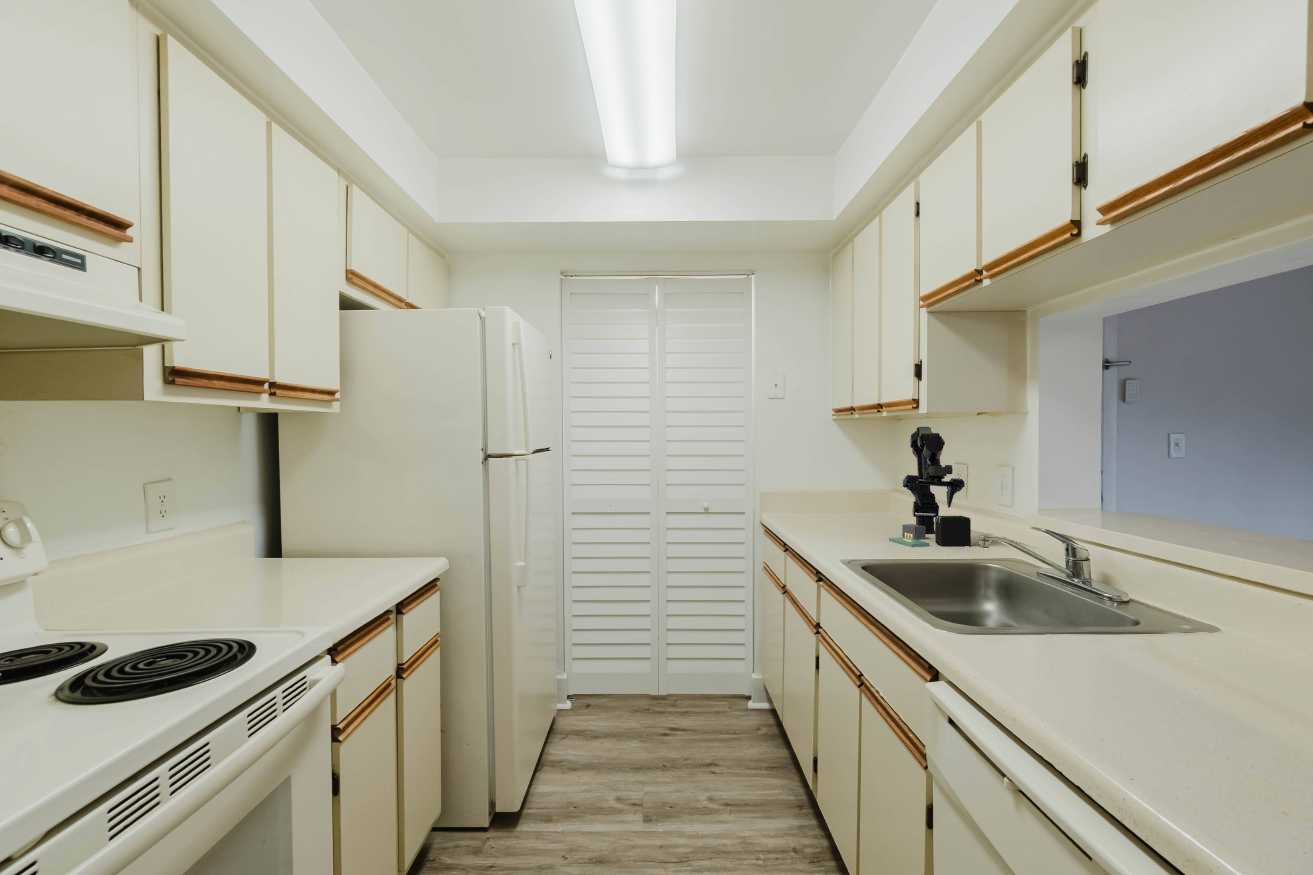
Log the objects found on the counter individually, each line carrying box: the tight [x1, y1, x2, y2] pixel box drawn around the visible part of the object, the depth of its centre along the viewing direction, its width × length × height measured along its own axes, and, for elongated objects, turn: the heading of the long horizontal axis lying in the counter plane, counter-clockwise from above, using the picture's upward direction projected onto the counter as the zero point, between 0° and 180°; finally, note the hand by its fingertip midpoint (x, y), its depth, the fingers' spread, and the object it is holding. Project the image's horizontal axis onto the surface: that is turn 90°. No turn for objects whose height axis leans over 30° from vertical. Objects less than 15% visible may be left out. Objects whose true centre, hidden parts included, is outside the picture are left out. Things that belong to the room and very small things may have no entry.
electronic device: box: [934, 515, 972, 548], centre depth 185 cm, size 4×10×10 cm, turn 89°
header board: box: [888, 533, 930, 548], centre depth 190 cm, size 12×7×4 cm, turn 12°
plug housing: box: [901, 523, 927, 541], centre depth 200 cm, size 7×4×4 cm, turn 12°
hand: (934, 506), depth 185 cm, fingers open, 9 cm apart
